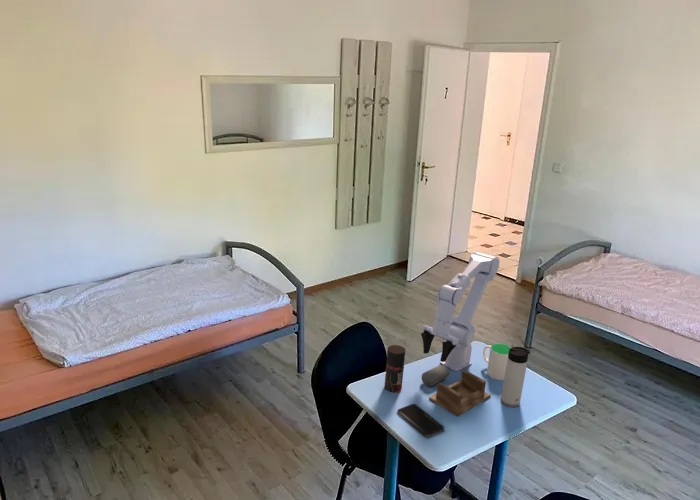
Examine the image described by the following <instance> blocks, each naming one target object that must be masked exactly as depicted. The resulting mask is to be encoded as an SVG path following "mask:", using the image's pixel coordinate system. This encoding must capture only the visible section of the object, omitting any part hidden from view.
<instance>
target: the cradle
mask: <svg viewBox="0 0 700 500" xmlns="http://www.w3.org/2000/svg"><path fill="white" fill-rule="evenodd" d="M486 384H487V381H486V380H485V379H483V378H482V377H479V376H477V375H476V374H473V373H471V372H470V371H468V370H466V369H464V370H462V371H461V378H460V379H458V381H455V382H453V383H451V384H449V385H446V384H445V383H442V382H438V383H437V387H436V393H434V394H432V395H430V396H429V397H428V399H429V401H432V402H433V403H435V404H436V405H438V406H440V407H441V408H443V409H444V410H446V411H448V412H449V413H451V414H453V415H454V416H456V417H459V416H461V415H462V414H464V413H466V412H468V411H469V410H471V409H473V408H474V407H476V406H478V405H480V404H481V403H482V402H484V401H487V400H488V399H489V398H491V394H490V393H489V392H486V386H487V385H486Z"/></svg>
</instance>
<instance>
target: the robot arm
mask: <svg viewBox="0 0 700 500" xmlns="http://www.w3.org/2000/svg"><path fill="white" fill-rule="evenodd" d="M499 268H500V259H499V256H494V255H490V254H487V253H483V252H480V251H477V250H474V251H473V252H471V254H470V256H469V259H468V265H467V266H466V267H465V269H464V270H463V271H462V272H459V273H457V274H456V275H455V276H454V277H453V278H452V279H451V280H450V281H449V282H448V284H442V285H441V286H440V287H439V289H438V292H437V302H436V303H437V309H436V313H435V317H434V321H433V326H430V325H427V324H423V325H422V327H421V331H422V332H421V333H420V336H421V339H422V344H423V346H422V347H423V353H422V354H429V353H430V350H431V346H432V343H433V340H434V339H435V337H437V338H439V339H442V340H444V341H442V343H441V345H442V346H441V347H442V349H441V350H442V351H441V355H440V360H439V363H440V365H445V366H446V367H447V368H448V369H449V370H452V371H454V372H459V371H461V370H463V369H464V368H467V367H468V366H470V365H472V362H471V357H472V349H473V348H472V347H473V346H472V342H473V340H474V335H475V333H476V327H475V326H474V324H473V323H472V320H473V318H474V315H475V314H476V311H477V308H478V306H479V304H480V302H481V300H482V296H483V295H484V292H485V290H486V288H487V285H488V284H489V282H491V281H493V280H494V278H495V277H496V276H497V272H498V270H499ZM472 279H473V282H472V285H471V286H470V284H471V280H472ZM469 287H470V289H469V290H468V294H467V296H466V298H465V301H464V303H463V305H462V306H461V309H460V312H459V313H458V315H457V316H455V317H454V314H455V310H456V307H457V305H458V304H459V303H460V301H461V299H462V298H463V295H464V292H465V291H466V290H467V288H469Z"/></svg>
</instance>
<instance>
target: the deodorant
mask: <svg viewBox="0 0 700 500" xmlns="http://www.w3.org/2000/svg"><path fill="white" fill-rule="evenodd" d="M386 352H387V353H386V354H387V355H386V361H385V362H386V366H385V376H384V389H385V391H387V392H389V393H392V394H394V393H395V394H396V393H400V392H401V391H402V389H403V388H402V386H403V378H404V367H405V358H406V348H405V347H403V346H402V345H398V344H392V345H389V346H388V347H387V351H386Z"/></svg>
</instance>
